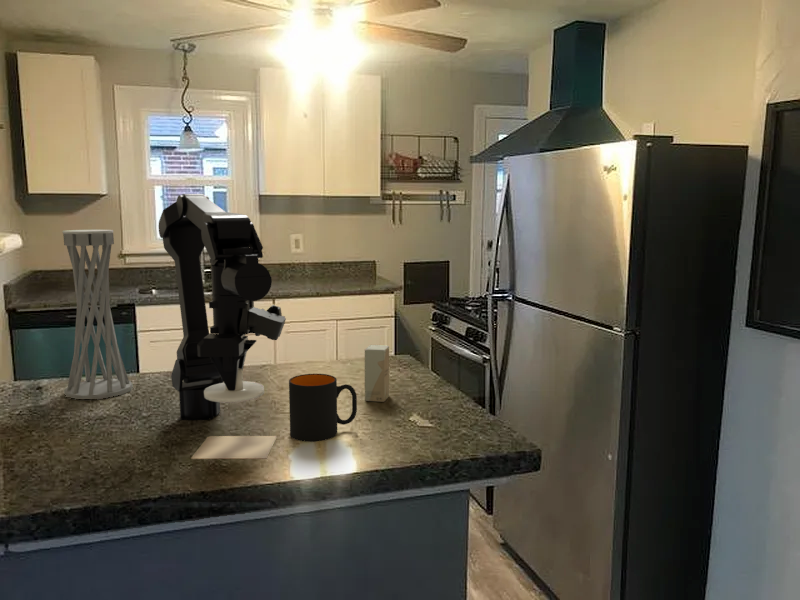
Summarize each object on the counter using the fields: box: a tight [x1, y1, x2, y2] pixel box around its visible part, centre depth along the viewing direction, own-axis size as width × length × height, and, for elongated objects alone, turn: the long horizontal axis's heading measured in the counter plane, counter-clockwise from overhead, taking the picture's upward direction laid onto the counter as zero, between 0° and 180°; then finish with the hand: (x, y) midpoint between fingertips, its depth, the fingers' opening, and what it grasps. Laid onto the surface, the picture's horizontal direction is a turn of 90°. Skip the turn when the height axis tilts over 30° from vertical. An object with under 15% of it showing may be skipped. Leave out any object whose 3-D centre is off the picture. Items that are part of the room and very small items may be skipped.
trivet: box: [190, 435, 278, 460], centre depth 108 cm, size 12×10×1 cm
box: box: [364, 344, 390, 403], centre depth 137 cm, size 5×4×11 cm
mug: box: [288, 373, 358, 443], centre depth 115 cm, size 8×12×10 cm
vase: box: [62, 229, 133, 400], centre depth 140 cm, size 14×13×35 cm
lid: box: [204, 368, 265, 404], centre depth 107 cm, size 10×10×4 cm
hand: (234, 387), depth 107 cm, fingers closed on lid, 3 cm apart
